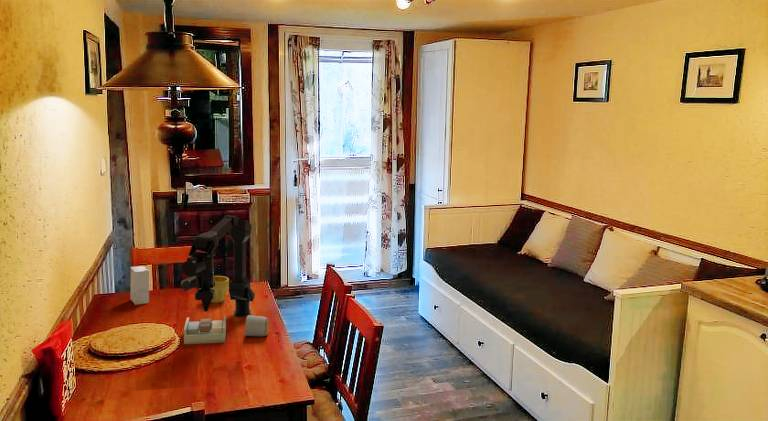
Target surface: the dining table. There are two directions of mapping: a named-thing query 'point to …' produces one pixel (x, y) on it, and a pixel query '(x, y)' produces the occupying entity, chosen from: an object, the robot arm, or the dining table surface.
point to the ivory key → (217, 326)
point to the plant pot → (220, 288)
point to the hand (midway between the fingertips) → (205, 310)
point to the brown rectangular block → (205, 325)
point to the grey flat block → (193, 327)
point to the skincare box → (139, 285)
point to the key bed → (204, 335)
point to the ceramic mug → (256, 326)
